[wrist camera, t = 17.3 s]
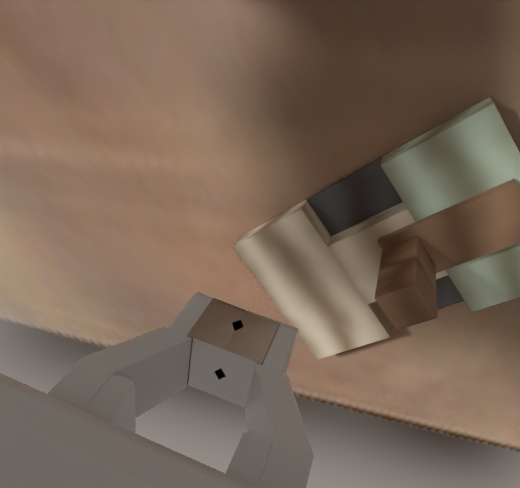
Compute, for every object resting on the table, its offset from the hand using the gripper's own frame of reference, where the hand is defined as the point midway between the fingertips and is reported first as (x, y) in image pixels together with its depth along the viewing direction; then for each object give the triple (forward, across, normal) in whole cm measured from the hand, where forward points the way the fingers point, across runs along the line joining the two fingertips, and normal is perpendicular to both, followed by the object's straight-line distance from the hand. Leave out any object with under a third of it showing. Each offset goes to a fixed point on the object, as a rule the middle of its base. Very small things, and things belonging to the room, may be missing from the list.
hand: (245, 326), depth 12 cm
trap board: (+37, +7, -17) cm, 42 cm away
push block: (+34, +12, -12) cm, 38 cm away
